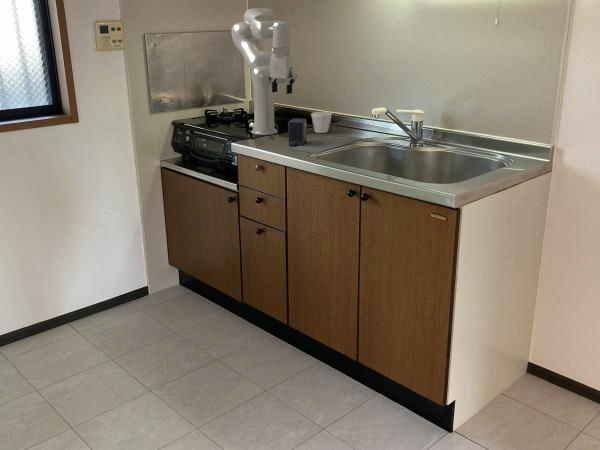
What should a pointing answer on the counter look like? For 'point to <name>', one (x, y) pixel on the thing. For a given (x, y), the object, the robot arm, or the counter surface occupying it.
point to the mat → (317, 146)
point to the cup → (321, 121)
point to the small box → (297, 131)
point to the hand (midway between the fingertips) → (281, 92)
